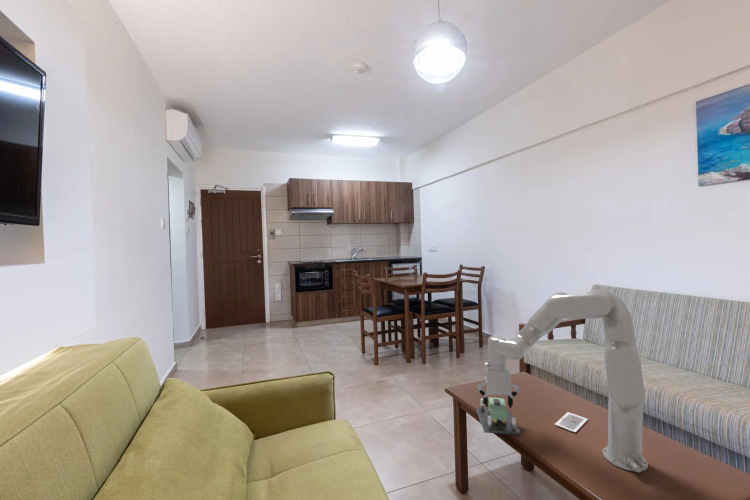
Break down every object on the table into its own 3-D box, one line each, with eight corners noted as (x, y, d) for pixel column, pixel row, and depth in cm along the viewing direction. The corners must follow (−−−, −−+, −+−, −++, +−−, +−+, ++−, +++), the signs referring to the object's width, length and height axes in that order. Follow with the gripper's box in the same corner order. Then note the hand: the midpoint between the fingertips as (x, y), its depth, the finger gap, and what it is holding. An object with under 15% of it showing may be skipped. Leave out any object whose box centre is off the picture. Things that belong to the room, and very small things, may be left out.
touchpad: (587, 421, 142) (587, 416, 142) (575, 435, 132) (575, 429, 132) (567, 414, 148) (567, 409, 148) (554, 426, 138) (554, 421, 138)
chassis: (520, 434, 132) (521, 419, 131) (484, 432, 133) (484, 417, 133) (508, 411, 149) (508, 398, 149) (476, 410, 151) (476, 397, 151)
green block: (506, 420, 135) (506, 410, 135) (491, 418, 136) (491, 408, 136) (502, 406, 146) (502, 397, 146) (488, 404, 148) (488, 395, 148)
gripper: (478, 368, 138) (478, 409, 138) (521, 369, 136) (522, 411, 136) (474, 362, 146) (475, 401, 146) (516, 363, 143) (516, 402, 144)
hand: (497, 406), depth 141 cm, fingers open, 9 cm apart
